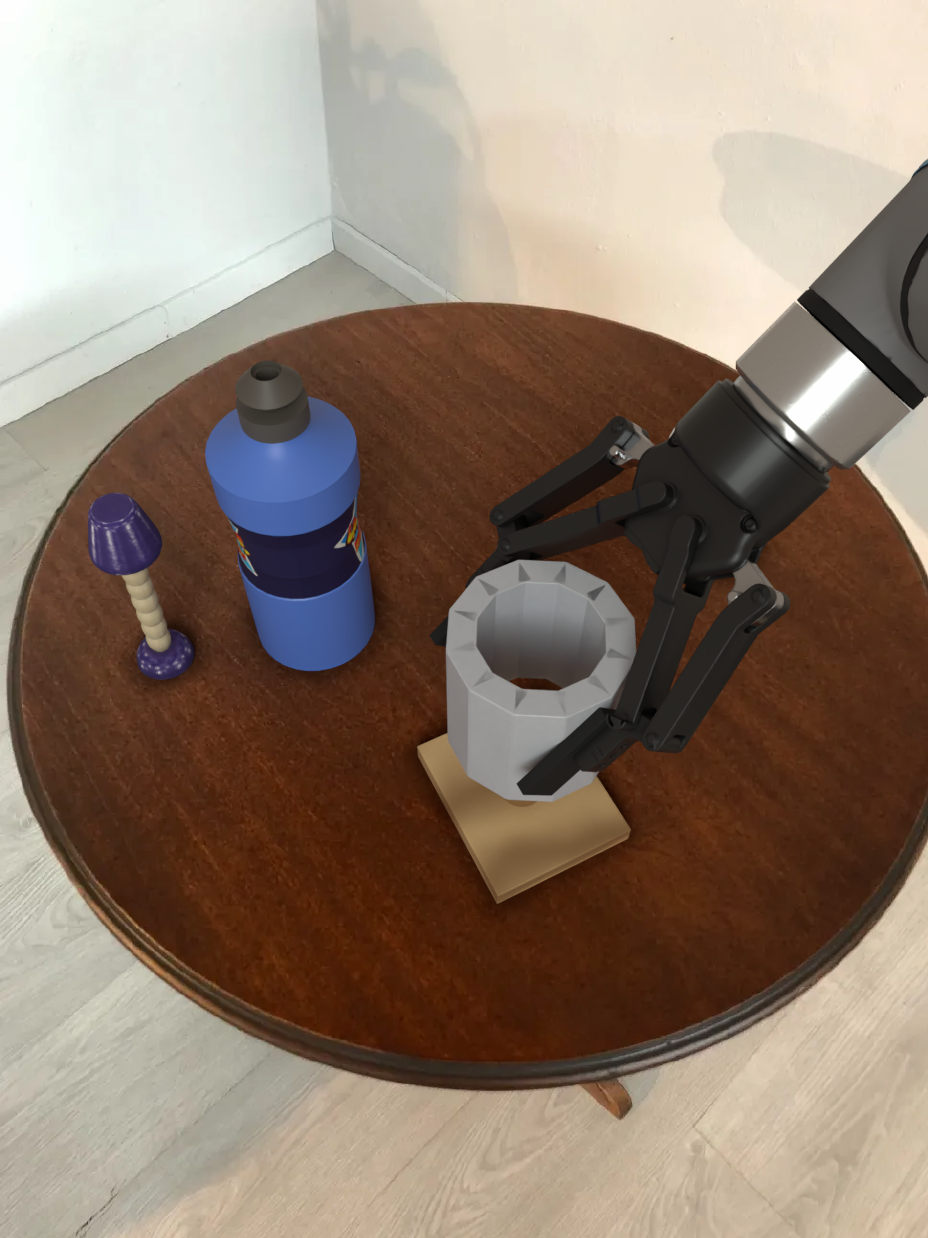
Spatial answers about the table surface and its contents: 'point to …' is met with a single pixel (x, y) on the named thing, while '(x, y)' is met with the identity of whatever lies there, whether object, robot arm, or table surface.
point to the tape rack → (521, 825)
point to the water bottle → (294, 518)
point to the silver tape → (531, 668)
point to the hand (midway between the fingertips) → (488, 713)
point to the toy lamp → (137, 579)
